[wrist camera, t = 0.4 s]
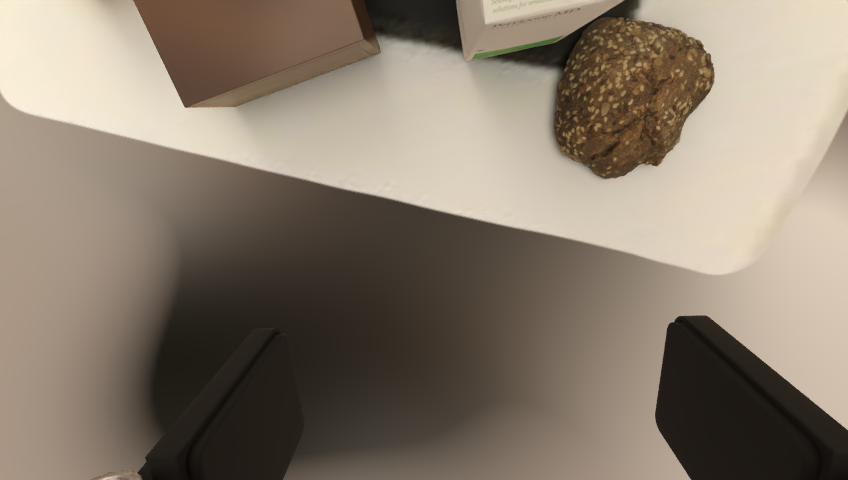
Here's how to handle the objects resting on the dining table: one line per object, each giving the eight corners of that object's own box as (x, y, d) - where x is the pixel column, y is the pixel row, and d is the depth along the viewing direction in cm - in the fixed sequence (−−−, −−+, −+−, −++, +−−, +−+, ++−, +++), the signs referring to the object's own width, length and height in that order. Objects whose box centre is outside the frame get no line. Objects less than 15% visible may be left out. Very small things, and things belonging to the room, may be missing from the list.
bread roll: (590, 0, 34) (614, -17, 29) (724, 54, 34) (768, 47, 30) (525, 148, 38) (537, 154, 33) (646, 194, 38) (674, 207, 34)
